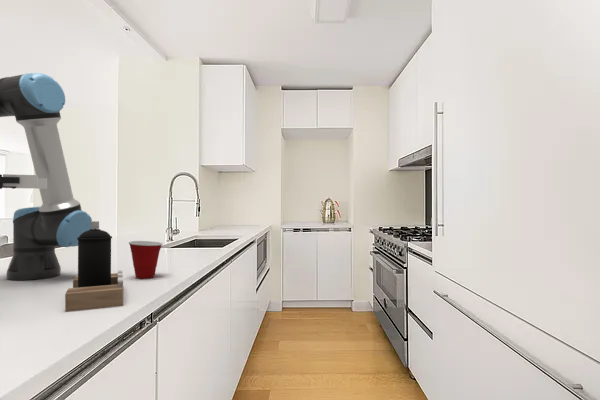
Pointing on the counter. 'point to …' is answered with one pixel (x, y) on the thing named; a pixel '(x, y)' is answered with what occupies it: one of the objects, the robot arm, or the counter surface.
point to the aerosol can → (94, 257)
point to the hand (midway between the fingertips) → (42, 182)
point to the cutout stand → (95, 295)
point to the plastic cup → (145, 258)
